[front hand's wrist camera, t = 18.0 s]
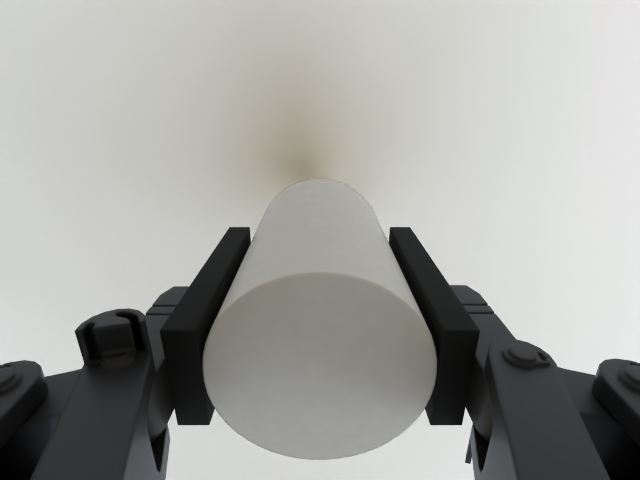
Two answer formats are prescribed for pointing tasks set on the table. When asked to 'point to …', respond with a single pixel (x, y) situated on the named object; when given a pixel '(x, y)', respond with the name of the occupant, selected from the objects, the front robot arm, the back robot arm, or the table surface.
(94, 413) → the front robot arm
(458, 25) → the table surface
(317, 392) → the canister
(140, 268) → the table surface
